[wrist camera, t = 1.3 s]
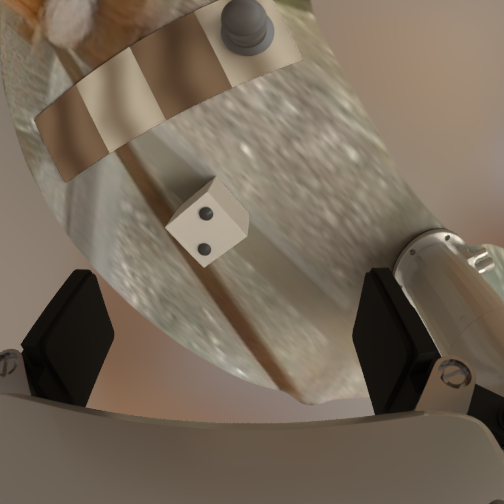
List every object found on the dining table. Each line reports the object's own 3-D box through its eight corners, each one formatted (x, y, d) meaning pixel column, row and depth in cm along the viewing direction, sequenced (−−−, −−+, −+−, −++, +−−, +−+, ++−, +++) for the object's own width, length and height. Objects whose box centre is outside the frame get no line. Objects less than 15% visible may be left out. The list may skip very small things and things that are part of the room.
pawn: (261, 3, 26) (260, -27, 17) (282, 44, 28) (289, 27, 20) (213, 22, 27) (195, -1, 19) (234, 63, 29) (223, 53, 21)
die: (216, 175, 36) (207, 192, 30) (249, 214, 38) (247, 237, 32) (178, 207, 38) (164, 228, 32) (211, 242, 40) (203, 268, 34)
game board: (263, -16, 25) (263, -17, 24) (302, 60, 29) (303, 59, 29) (36, 119, 32) (33, 119, 31) (67, 181, 36) (65, 183, 36)
